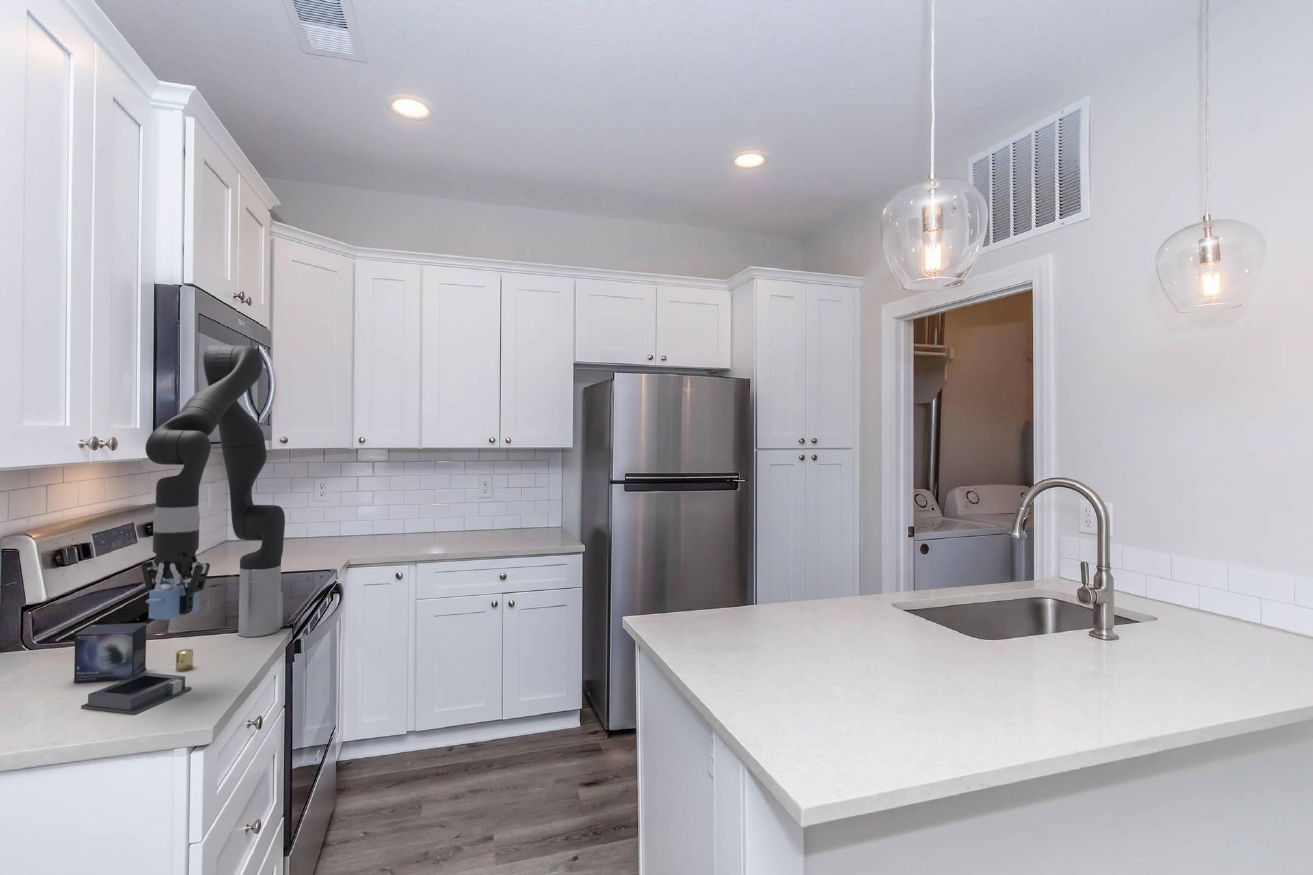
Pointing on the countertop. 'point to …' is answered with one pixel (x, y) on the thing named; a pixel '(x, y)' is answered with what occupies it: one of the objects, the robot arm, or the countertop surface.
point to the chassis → (137, 693)
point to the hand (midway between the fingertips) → (174, 612)
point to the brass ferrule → (184, 660)
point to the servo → (168, 602)
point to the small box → (110, 652)
